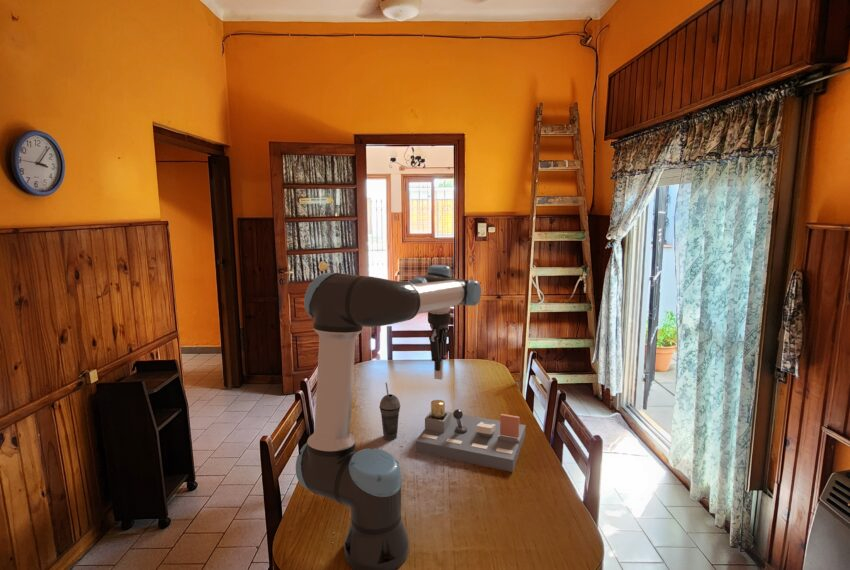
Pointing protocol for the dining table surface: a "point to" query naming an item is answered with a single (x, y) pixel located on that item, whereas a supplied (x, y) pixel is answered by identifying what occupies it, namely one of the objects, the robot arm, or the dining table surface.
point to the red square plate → (509, 425)
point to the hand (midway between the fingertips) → (438, 378)
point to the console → (470, 442)
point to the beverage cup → (389, 415)
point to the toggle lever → (458, 417)
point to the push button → (438, 409)
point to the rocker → (485, 428)
